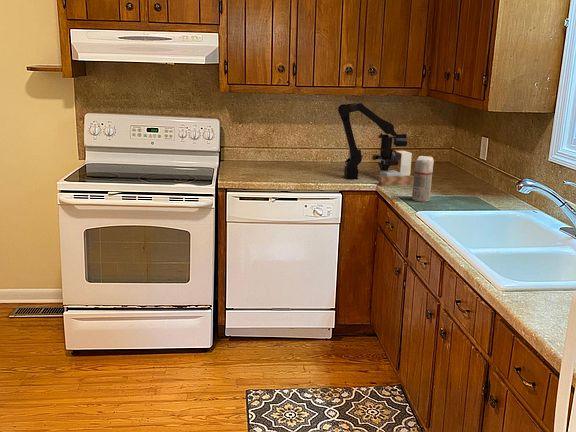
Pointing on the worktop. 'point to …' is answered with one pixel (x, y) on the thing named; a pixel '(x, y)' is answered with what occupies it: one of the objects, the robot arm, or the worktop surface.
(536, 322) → the worktop surface
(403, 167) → the small box
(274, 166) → the worktop surface
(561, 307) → the worktop surface
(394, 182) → the board
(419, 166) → the spray can
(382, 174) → the block
